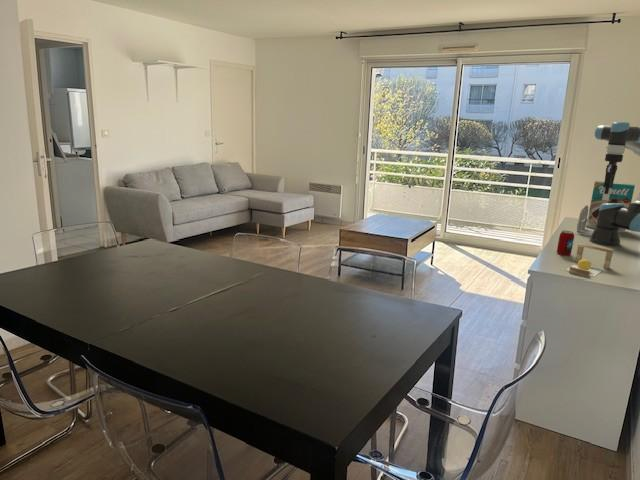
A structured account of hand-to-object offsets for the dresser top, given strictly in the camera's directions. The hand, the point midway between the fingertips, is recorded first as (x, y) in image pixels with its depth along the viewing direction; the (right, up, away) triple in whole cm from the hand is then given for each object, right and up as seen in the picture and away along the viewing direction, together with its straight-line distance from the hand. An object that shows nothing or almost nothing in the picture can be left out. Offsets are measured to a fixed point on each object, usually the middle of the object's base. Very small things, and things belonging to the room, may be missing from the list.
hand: (605, 199), depth 249 cm
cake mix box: (+39, -14, +66) cm, 78 cm away
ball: (-25, -32, -25) cm, 48 cm away
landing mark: (-25, -35, -25) cm, 49 cm away
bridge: (-15, -33, -14) cm, 38 cm away
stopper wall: (-30, -36, -30) cm, 56 cm away
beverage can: (-21, -28, +2) cm, 35 cm away
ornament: (+22, -17, +53) cm, 59 cm away
